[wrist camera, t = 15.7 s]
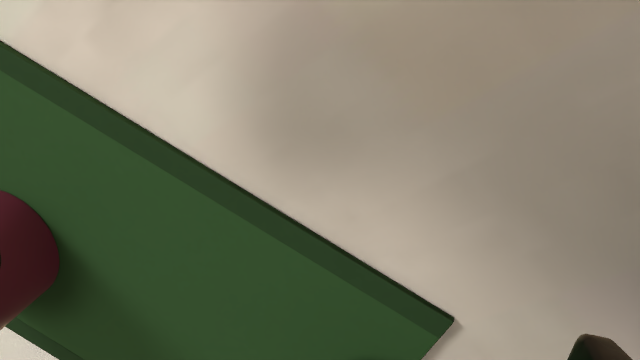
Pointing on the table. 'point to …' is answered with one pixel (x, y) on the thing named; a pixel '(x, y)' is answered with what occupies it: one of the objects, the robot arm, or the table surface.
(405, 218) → the table surface
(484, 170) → the table surface
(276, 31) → the table surface
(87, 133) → the cloth
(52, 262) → the grape tub
